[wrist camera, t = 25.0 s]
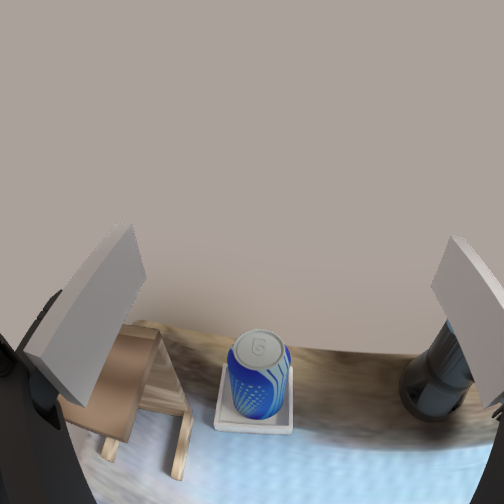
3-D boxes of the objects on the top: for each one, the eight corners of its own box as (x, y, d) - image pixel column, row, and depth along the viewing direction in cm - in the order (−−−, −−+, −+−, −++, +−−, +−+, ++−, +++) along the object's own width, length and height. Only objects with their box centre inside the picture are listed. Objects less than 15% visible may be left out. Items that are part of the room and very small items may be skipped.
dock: (128, 398, 43) (73, 315, 31) (195, 411, 42) (162, 329, 30) (108, 460, 32) (27, 400, 19) (181, 481, 31) (126, 439, 19)
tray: (290, 375, 49) (292, 366, 47) (290, 434, 39) (292, 429, 37) (224, 372, 50) (223, 363, 48) (215, 430, 40) (213, 424, 38)
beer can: (292, 399, 44) (305, 346, 35) (258, 432, 39) (260, 388, 30) (257, 373, 48) (258, 314, 39) (223, 401, 44) (212, 348, 35)
